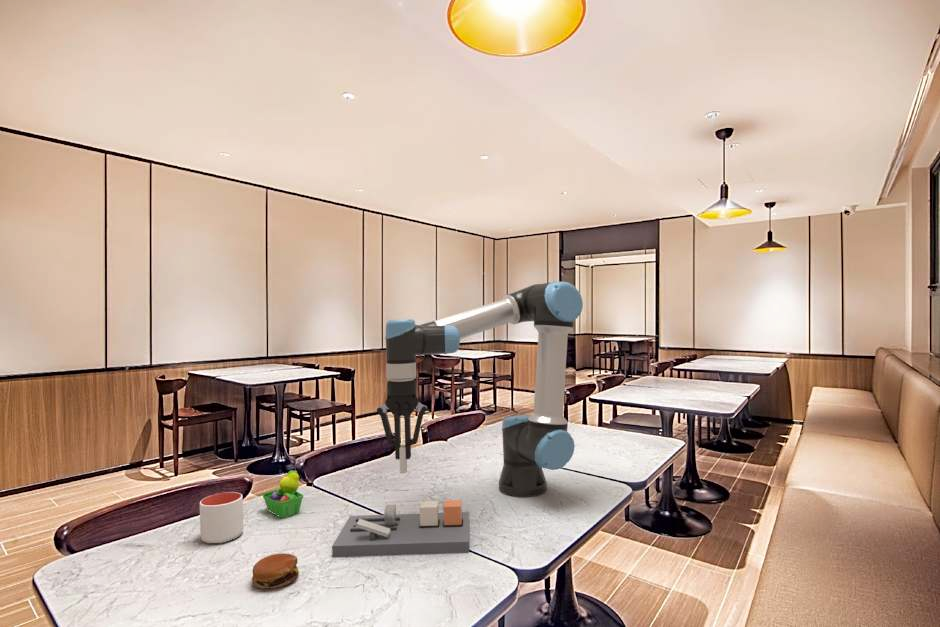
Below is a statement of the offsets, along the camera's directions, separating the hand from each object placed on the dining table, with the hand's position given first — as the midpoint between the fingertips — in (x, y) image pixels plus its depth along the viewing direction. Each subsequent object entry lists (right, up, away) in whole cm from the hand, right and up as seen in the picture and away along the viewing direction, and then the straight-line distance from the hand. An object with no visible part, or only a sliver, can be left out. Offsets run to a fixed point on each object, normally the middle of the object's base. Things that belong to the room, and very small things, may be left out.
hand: (403, 471), depth 130 cm
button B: (+7, -13, 0) cm, 15 cm away
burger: (-25, -17, -21) cm, 36 cm away
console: (+1, -16, -2) cm, 16 cm away
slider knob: (-3, -13, 0) cm, 14 cm away
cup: (-47, -18, +2) cm, 50 cm away
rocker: (-6, -11, -7) cm, 15 cm away
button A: (+13, -13, 0) cm, 18 cm away
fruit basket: (-37, -18, +18) cm, 45 cm away
